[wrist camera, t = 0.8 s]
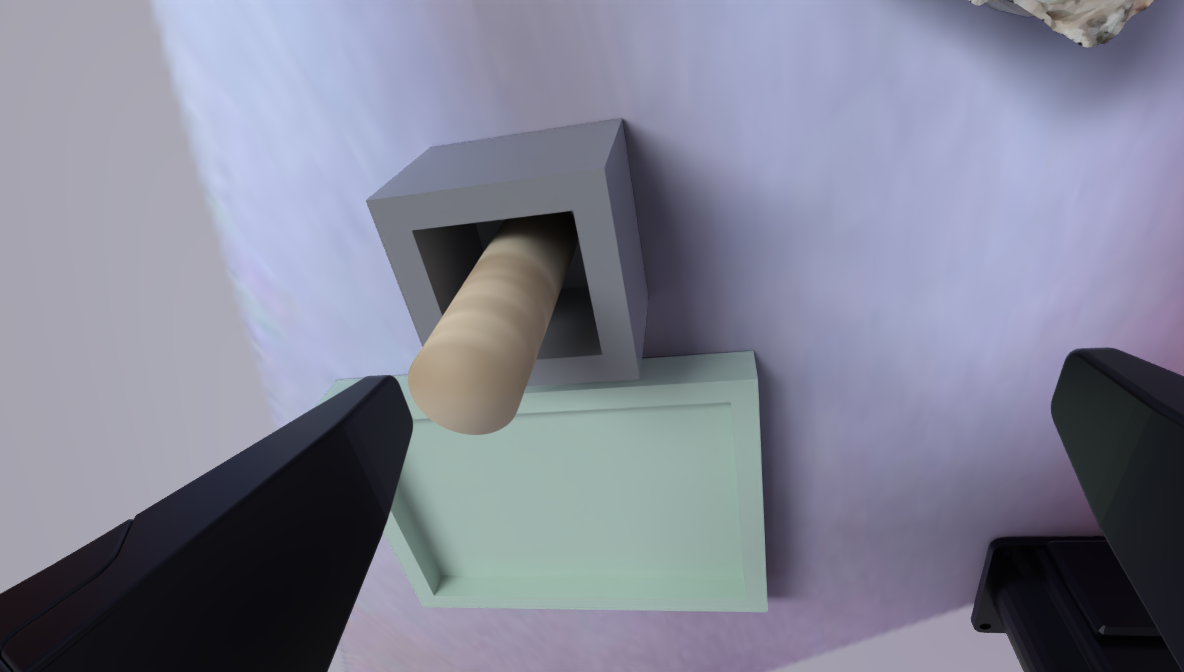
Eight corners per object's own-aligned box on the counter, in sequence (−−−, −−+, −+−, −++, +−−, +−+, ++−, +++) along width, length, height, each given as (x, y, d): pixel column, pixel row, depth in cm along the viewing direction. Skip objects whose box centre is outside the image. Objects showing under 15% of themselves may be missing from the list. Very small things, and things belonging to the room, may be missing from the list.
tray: (763, 579, 31) (767, 612, 29) (434, 577, 34) (422, 607, 33) (753, 350, 23) (757, 379, 22) (336, 380, 27) (315, 405, 26)
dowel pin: (584, 261, 22) (531, 432, 14) (515, 269, 22) (428, 437, 15) (570, 191, 20) (503, 340, 13) (497, 201, 21) (391, 349, 13)
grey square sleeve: (648, 298, 23) (640, 379, 19) (482, 313, 24) (440, 391, 20) (622, 117, 19) (604, 168, 15) (430, 147, 21) (366, 200, 17)
